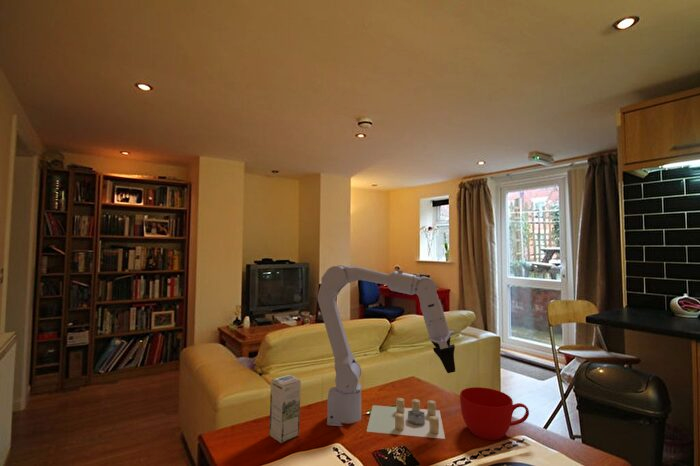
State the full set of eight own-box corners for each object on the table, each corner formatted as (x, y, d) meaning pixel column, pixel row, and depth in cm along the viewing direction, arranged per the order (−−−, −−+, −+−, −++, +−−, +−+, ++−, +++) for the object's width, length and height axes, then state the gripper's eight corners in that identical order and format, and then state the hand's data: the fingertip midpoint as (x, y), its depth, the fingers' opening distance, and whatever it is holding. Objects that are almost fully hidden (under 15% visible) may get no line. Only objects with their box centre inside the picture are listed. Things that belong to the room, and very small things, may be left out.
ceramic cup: (537, 454, 82) (536, 411, 82) (463, 446, 85) (463, 404, 86) (522, 427, 94) (521, 390, 95) (458, 421, 98) (457, 385, 98)
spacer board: (366, 435, 90) (366, 417, 90) (372, 408, 106) (372, 393, 106) (445, 442, 87) (445, 424, 87) (439, 413, 102) (439, 398, 103)
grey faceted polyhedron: (412, 426, 93) (412, 418, 93) (404, 419, 97) (404, 411, 97) (428, 423, 94) (428, 415, 95) (420, 416, 99) (419, 409, 99)
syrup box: (287, 428, 94) (288, 373, 95) (300, 436, 89) (300, 379, 90) (268, 435, 90) (269, 378, 91) (281, 444, 85) (282, 384, 86)
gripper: (452, 320, 88) (468, 373, 87) (446, 311, 103) (460, 356, 101) (425, 327, 90) (441, 379, 88) (423, 317, 104) (436, 361, 102)
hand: (449, 367), depth 95 cm, fingers open, 7 cm apart
